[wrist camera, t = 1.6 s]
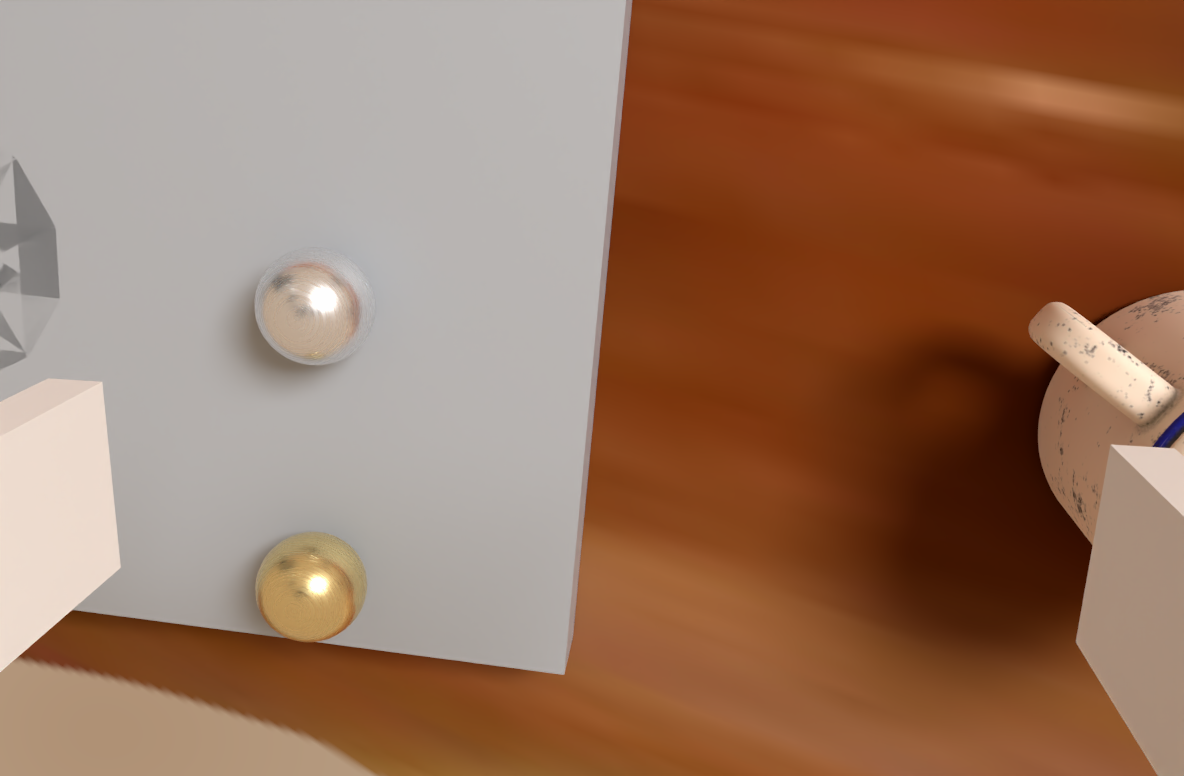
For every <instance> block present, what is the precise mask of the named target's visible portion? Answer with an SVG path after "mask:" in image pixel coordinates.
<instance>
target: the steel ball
mask: <svg viewBox="0 0 1184 776" xmlns="http://www.w3.org/2000/svg"><path fill="white" fill-rule="evenodd" d="M254 309H255V317H256V321H257V324H258V327H259V329H260V331H261V333H262V335H263V336H264V338H265V339H266V341H267V342H268V343H269V344H270V346H271V347H273V348H274V349H275V350H276V351H277V352H278V353H280V354H281V355H282V356H284V357H286V358H288V359H290V360H292V361H294V362H298V363H301V364H307V365H326V364H331V363H335V362H337V361H340V360H342V359H344V358H346V357H348V356H349V355H351V354H352V353H354V352H355V351H356V350H357V349H358V348H359V347H360V346H361V345H362V344H363V343H364V341H365V340H366V339H367V337H368V335H369V333H370V331H371V329H372V326H373V323H374V319H375V313H376V302H375V295H374V292H373V288H372V286H371V283H370V281H369V279H368V277H367V276H366V274H365V273H364V272H363V270H362V269H361V268H360V267H359V266H358V265H357V264H356V263H355V262H354V261H352V260H351V259H350V258H348V257H347V256H345V255H343V254H341V253H339V252H337V251H334V250H331V249H327V248H320V247H308V248H301V249H297V250H294V251H291V252H289V253H287V254H285V255H283V256H281V257H280V258H279V259H277V260H276V261H275V262H273V263H272V264H271V265H270V266H269V267H268V269H267V270H266V271H265V273H264V274H263V276H262V278H261V279H260V281H259V284H258V287H257V290H256V295H255V302H254Z"/></svg>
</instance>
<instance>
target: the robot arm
mask: <svg viewBox="0 0 1184 776" xmlns="http://www.w3.org/2000/svg"><path fill="white" fill-rule="evenodd" d="M120 568H121V564H120V554H119V544H118V534H117V524H116V514H115V504H114V494H113V484H112V474H111V464H110V454H109V444H108V434H107V424H106V414H105V404H104V394H103V384H102V382H99V381H83V380H67V379H51V378H48V379H46V380H44V381H42V382H40V383H38V384H36V385H34V386H32V387H29V388H27V389H25V390H23V391H21V392H19V393H17V394H15V395H13V396H11V397H9V398H7V399H5V400H3V401H1V402H0V672H1V671H2V670H3V669H4V668H5V667H7V666H8V665H9V664H10V663H11V662H13V661H14V660H15V659H16V658H17V657H18V656H19V655H21V654H22V653H23V652H24V651H25V650H26V649H28V648H29V647H30V646H31V645H32V644H33V643H34V642H36V641H37V640H38V639H39V638H40V637H41V636H43V635H44V634H45V633H46V632H47V631H48V630H49V629H51V628H52V627H53V626H54V625H55V624H56V623H58V622H59V621H60V620H61V619H62V618H63V617H64V616H66V615H67V614H68V613H69V612H70V611H71V610H73V609H74V608H75V607H76V606H77V605H78V604H79V603H81V602H82V601H83V600H84V599H85V598H86V597H88V596H89V595H90V594H91V593H92V592H93V591H94V590H96V589H97V588H98V587H99V586H100V585H101V584H103V583H104V582H105V581H106V580H107V579H108V578H110V577H111V576H112V575H113V574H114V573H115V572H116V571H118V570H119V569H120ZM1076 644H1077V645H1078V647H1079V648H1080V650H1081V652H1082V653H1083V655H1084V657H1085V658H1086V660H1087V661H1088V663H1089V665H1090V666H1091V668H1092V670H1093V671H1094V673H1095V674H1096V676H1097V678H1098V679H1099V681H1100V683H1101V684H1102V686H1103V687H1104V689H1105V691H1106V692H1107V694H1108V696H1109V697H1110V699H1111V700H1112V702H1113V704H1114V705H1115V707H1116V709H1117V710H1118V712H1119V713H1120V715H1121V717H1122V718H1123V720H1124V722H1125V723H1126V725H1127V726H1128V728H1129V730H1130V731H1131V733H1132V734H1133V736H1134V738H1135V739H1136V741H1137V743H1138V744H1139V746H1140V747H1141V749H1142V751H1143V752H1144V754H1145V756H1146V757H1147V759H1148V760H1149V762H1150V764H1151V765H1152V767H1153V769H1154V770H1155V772H1156V773H1157V775H1158V776H1184V456H1183V455H1182V454H1180V453H1179V452H1178V451H1177V450H1176V449H1174V448H1158V447H1142V446H1126V445H1110V450H1109V456H1108V461H1107V467H1106V473H1105V478H1104V484H1103V490H1102V495H1101V501H1100V507H1099V512H1098V518H1097V524H1096V529H1095V535H1094V541H1093V546H1092V552H1091V558H1090V563H1089V569H1088V575H1087V580H1086V586H1085V592H1084V597H1083V603H1082V609H1081V614H1080V620H1079V626H1078V631H1077V637H1076Z"/></svg>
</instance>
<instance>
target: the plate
mask: <svg viewBox="0 0 1184 776" xmlns="http://www.w3.org/2000/svg"><path fill="white" fill-rule="evenodd" d="M631 9H632V0H0V402H1V401H3V400H5V399H7V398H9V397H11V396H13V395H15V394H17V393H19V392H21V391H23V390H25V389H27V388H29V387H32V386H34V385H36V384H38V383H40V382H42V381H44V380H46V379H48V378H51V379H67V380H83V381H99V382H102V384H103V394H104V404H105V414H106V424H107V434H108V444H109V454H110V464H111V474H112V484H113V494H114V504H115V514H116V524H117V534H118V544H119V554H120V564H121V568H120V569H119V570H118V571H116V572H115V573H114V574H113V575H112V576H111V577H110V578H108V579H107V580H106V581H105V582H104V583H103V584H101V585H100V586H99V587H98V588H97V589H96V590H94V591H93V592H92V593H91V594H90V595H89V596H88V597H86V598H85V599H84V600H83V601H82V602H81V603H79V604H78V605H77V606H76V607H75V608H74V609H73V610H77V611H85V612H93V613H100V614H108V615H115V616H123V617H130V618H138V619H146V620H153V621H161V622H168V623H176V624H183V625H191V626H199V627H206V628H214V629H221V630H229V631H236V632H244V633H252V634H259V635H267V636H274V637H282V638H286V637H284V636H282V635H281V634H279V633H278V632H276V631H275V630H274V629H273V628H271V627H270V626H269V624H268V623H267V622H266V621H265V619H264V618H263V616H262V615H261V613H260V611H259V608H258V605H257V601H256V596H255V584H256V577H257V573H258V571H259V568H260V566H261V564H262V562H263V560H264V558H265V557H266V556H267V554H268V553H269V552H270V551H271V550H272V549H273V548H274V547H275V546H276V545H277V544H279V543H280V542H281V541H283V540H285V539H287V538H289V537H291V536H293V535H296V534H300V533H305V532H323V533H328V534H331V535H334V536H336V537H338V538H340V539H342V540H344V541H345V542H346V543H348V544H349V545H350V546H351V547H352V548H353V549H354V550H355V551H356V552H357V554H358V555H359V557H360V559H361V561H362V563H363V565H364V568H365V571H366V576H367V594H366V598H365V602H364V605H363V607H362V609H361V611H360V613H359V615H358V616H357V618H356V619H355V620H354V621H353V622H352V624H351V625H350V626H349V627H347V628H346V629H345V630H344V631H342V632H341V633H339V634H338V635H336V636H334V637H331V638H329V639H326V640H323V641H317V642H320V643H327V644H335V645H343V646H350V647H358V648H365V649H373V650H380V651H388V652H396V653H403V654H411V655H418V656H426V657H433V658H441V659H449V660H456V661H464V662H471V663H479V664H486V665H494V666H502V667H509V668H517V669H524V670H532V671H539V672H547V673H555V674H562V675H564V673H565V669H566V665H567V660H568V656H569V652H570V647H571V643H572V639H573V631H574V620H575V609H576V598H577V588H578V577H579V566H580V556H581V545H582V534H583V523H584V513H585V502H586V491H587V481H588V470H589V459H590V448H591V438H592V427H593V416H594V406H595V395H596V384H597V373H598V363H599V352H600V341H601V331H602V320H603V309H604V298H605V288H606V277H607V266H608V256H609V245H610V234H611V223H612V213H613V202H614V191H615V180H616V170H617V159H618V148H619V138H620V127H621V116H622V105H623V95H624V84H625V73H626V63H627V52H628V41H629V30H630V20H631ZM308 247H320V248H327V249H331V250H334V251H337V252H339V253H341V254H343V255H345V256H347V257H348V258H350V259H351V260H352V261H354V262H355V263H356V264H357V265H358V266H359V267H360V268H361V269H362V270H363V272H364V273H365V274H366V276H367V277H368V279H369V281H370V283H371V286H372V288H373V292H374V295H375V302H376V313H375V319H374V323H373V326H372V329H371V331H370V333H369V335H368V337H367V339H366V340H365V341H364V343H363V344H362V345H361V346H360V347H359V348H358V349H357V350H356V351H355V352H354V353H352V354H351V355H349V356H348V357H346V358H344V359H342V360H340V361H337V362H335V363H331V364H326V365H307V364H301V363H298V362H294V361H292V360H290V359H288V358H286V357H284V356H282V355H281V354H280V353H278V352H277V351H276V350H275V349H274V348H273V347H271V346H270V344H269V343H268V342H267V341H266V339H265V338H264V336H263V335H262V333H261V331H260V329H259V327H258V324H257V321H256V317H255V309H254V302H255V295H256V290H257V287H258V284H259V281H260V279H261V278H262V276H263V274H264V273H265V271H266V270H267V269H268V267H269V266H270V265H271V264H272V263H273V262H275V261H276V260H277V259H279V258H280V257H281V256H283V255H285V254H287V253H289V252H291V251H294V250H297V249H301V248H308Z"/></svg>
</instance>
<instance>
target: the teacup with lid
mask: <svg viewBox="0 0 1184 776" xmlns="http://www.w3.org/2000/svg"><path fill="white" fill-rule="evenodd" d="M1029 334H1030V336H1031V338H1032V339H1033V341H1034V342H1035V343H1037V344H1038V345H1039V346H1040V347H1041V348H1042V349H1043V350H1044V351H1046V352H1047V353H1048V354H1049V355H1050V356H1052V357H1053V358H1054V359H1055V360H1056V361H1058V362H1059V363H1060V365H1059V367H1058V369H1057V370H1056V372H1055V374H1054V375H1053V377H1052V379H1051V382H1050V384H1049V386H1048V388H1047V391H1046V393H1045V396H1044V399H1043V402H1042V407H1041V411H1040V416H1039V424H1038V447H1039V455H1040V460H1041V464H1042V468H1043V471H1044V474H1045V477H1046V479H1047V481H1048V483H1049V486H1050V488H1051V490H1052V492H1053V493H1054V495H1055V497H1056V498H1057V500H1058V501H1059V502H1060V504H1061V505H1062V506H1063V508H1064V509H1065V510H1066V512H1067V513H1068V514H1069V516H1070V517H1071V518H1072V519H1073V521H1074V522H1075V523H1076V525H1077V526H1078V527H1079V528H1080V530H1081V531H1082V532H1083V534H1084V535H1085V536H1086V537H1087V539H1088V540H1089V541H1090V543H1091V544H1092V545H1093V541H1094V535H1095V529H1096V524H1097V518H1098V512H1099V507H1100V501H1101V495H1102V490H1103V484H1104V478H1105V473H1106V467H1107V461H1108V456H1109V450H1110V445H1126V446H1142V447H1158V448H1174V449H1176V450H1177V451H1178V452H1179V453H1180V454H1182V455H1183V456H1184V291H1176V292H1170V293H1165V294H1161V295H1157V296H1153V297H1150V298H1147V299H1144V300H1141V301H1139V302H1136V303H1134V304H1132V305H1130V306H1127V307H1125V308H1123V309H1121V310H1120V311H1118V312H1116V313H1114V314H1112V315H1111V316H1109V317H1108V318H1106V319H1105V320H1103V321H1102V322H1100V323H1099V324H1098V325H1096V326H1095V325H1093V324H1092V323H1091V322H1089V321H1088V320H1087V319H1085V318H1084V317H1083V316H1081V315H1080V314H1079V313H1077V312H1076V311H1075V310H1073V309H1072V308H1070V307H1069V306H1067V305H1066V304H1064V303H1060V302H1051V303H1049V304H1047V305H1045V306H1044V307H1043V308H1042V309H1041V310H1040V311H1039V312H1038V313H1037V315H1036V316H1035V317H1034V318H1033V319H1032V320H1031V322H1030V324H1029Z"/></svg>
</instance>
